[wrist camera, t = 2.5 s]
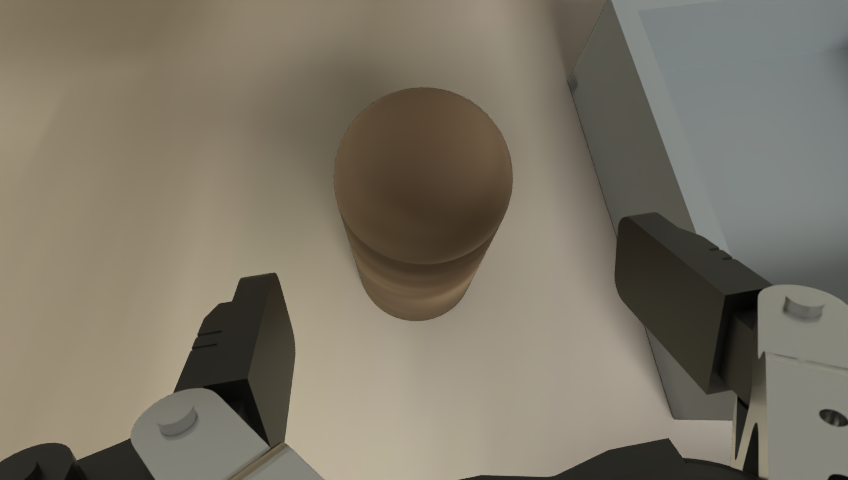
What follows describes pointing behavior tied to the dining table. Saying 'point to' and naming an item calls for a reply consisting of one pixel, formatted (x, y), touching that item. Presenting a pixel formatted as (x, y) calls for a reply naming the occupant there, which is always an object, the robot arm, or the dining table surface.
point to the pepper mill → (421, 197)
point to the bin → (725, 138)
